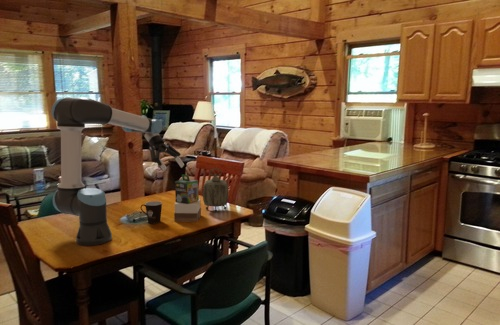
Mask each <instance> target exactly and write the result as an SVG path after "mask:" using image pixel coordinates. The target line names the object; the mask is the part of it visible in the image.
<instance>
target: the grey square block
mask: <svg viewBox="0 0 500 325" xmlns="http://www.w3.org/2000/svg"><path fill="white" fill-rule="evenodd" d="M173 214H174V215H173V219H174V220H173V221H174V222H181V223H182V222H183V223H185V222H186V223H187V222H188V223H189V222H190V223H191V222H192V223H197V222H198V221H199V219H200V218H201V216H202V208H201V207H200V209H199V211H198V213H175V212H174V213H173Z"/></svg>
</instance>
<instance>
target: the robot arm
mask: <svg viewBox="0 0 500 325" xmlns="http://www.w3.org/2000/svg"><path fill="white" fill-rule="evenodd" d="M51 116H52V118H53V119H54V121H55V122H56V126H57V128H58V129H59V130H60V166H61V167H60V169H61V170H60V172H61V173H60V174H61V175H60V176H61V177H60V183H59V184H58V185H57V190H55V192H54V193H53V196H52V205H53V207H54V209H55V210H56V211H58V212H60V213H61V214H65V215H71V216H77V217H78V221H79V227H78V229H77V234H76V236H75V240H76V241H75V242H76V244H77V245H79V246H85V247H86V246H87V247H88V246H89V247H91V246H92V247H93V246H99V245H103V244H105V243H108V242H111V240H112V239H113V235H112V231H111V229H110V226H109V224H108V220H107V219H108V216H107V198H106V193H105V191H104V190H103V189H101V188H96V187H93V188H92V187H86V185H85V184H84V183H83V181H82V131H83V130H84V129H85V128H86V124H87V125H88V124H92V125H93V124H96V125H102V126H104V125H107V124H109V125H111V126H112V125H113V126H118V127H121V129H122V131H124V132H125V133H140V134H142V135H143V137H144V138H145V139H146V142H148V144H149V146H148V149H149V152H150V157H151V158H150V159H151V161H152V162H154V163H155V164H156V163H157V165H158V166H159V167H160V168H161V170H162V171H163V172H165V171H166V170H167V166H166V164H165V163H164V162H163V160H162V159H161V158H160V154H161V153H165V154H168V155H170V156H171V157H173V158H175V159H174V160H175V161H176V163H177V164H178V165H179V167H180V168H181V169H182V168H183V167H184V166H185V164H184V162H183V160H182V158H181V157H180V156H181V155H182V153H180V151H178V150H177V149H176V148H174V147H173V146H171V144H170V143H169V142H167V143H166V144H165V143H164V139H163V138H162V136H161V135H160V133H161V132H162V130H163V123H162V121H161V120H160V119H156V118H149V117H147V116H146V115H145V114H144V115H138V114H135V113H132V112H127V111H124V110H120V109H117V108H114V107H112V106H111V105H110V104H107V103H104V102H100V101H98V100H95V99H92V98H88V97H70V96H69V97H67V96H66V97H61V98H58V99H56V101H54V103H53V104H52V107H51Z"/></svg>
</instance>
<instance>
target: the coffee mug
mask: <svg viewBox="0 0 500 325" xmlns="http://www.w3.org/2000/svg"><path fill="white" fill-rule="evenodd" d="M143 206H144V207H145V211H144V210H143V208H142V207H143ZM162 206H163V202H162V201H160V200H159V201H158V200H154V201H153V200H151V201H147V202H145V204H141V205H140V207H139V208H140V211H142V213H143V214H145V215H146V217H147V223H149V224H159V223H160V222H161V221H162V220H161V218H162V208H163V207H162Z"/></svg>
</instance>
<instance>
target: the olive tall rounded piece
mask: <svg viewBox="0 0 500 325" xmlns="http://www.w3.org/2000/svg"><path fill="white" fill-rule="evenodd" d="M212 171H219V172H220V173H219V174H217V173H214V174H213V173H211V172H212ZM208 173H209V175H210V176H212V177H211V179H209V180H208V179H207V180H205V182H204V184H203V188H202V199H203V200H202V201H203V204H204V205H205V210H206V211H207V210H209V207H213V208H214V207H215V208H214V210H213V212H215V213H217V212H218V210H217V207H223V210H227V207H226V205H227V204H228V200H229V199H228V198H229V184H228V182H227V180H224V179H220V177H219V176H221V175H222V173H223V172H222V170H221V169H219V168H212V169H210V170H209V172H208Z"/></svg>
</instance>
